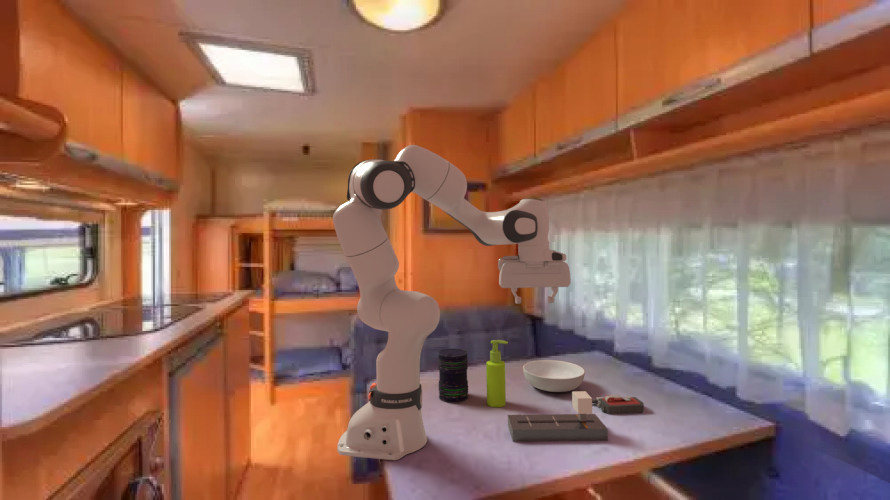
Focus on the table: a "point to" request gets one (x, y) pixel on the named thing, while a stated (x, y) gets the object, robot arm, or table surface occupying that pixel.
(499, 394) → the soap dispenser
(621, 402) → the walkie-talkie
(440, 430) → the table surface
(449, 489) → the table surface
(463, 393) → the black ridged cylinder
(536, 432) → the fader panel
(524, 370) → the serving bowl
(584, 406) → the fader knob
